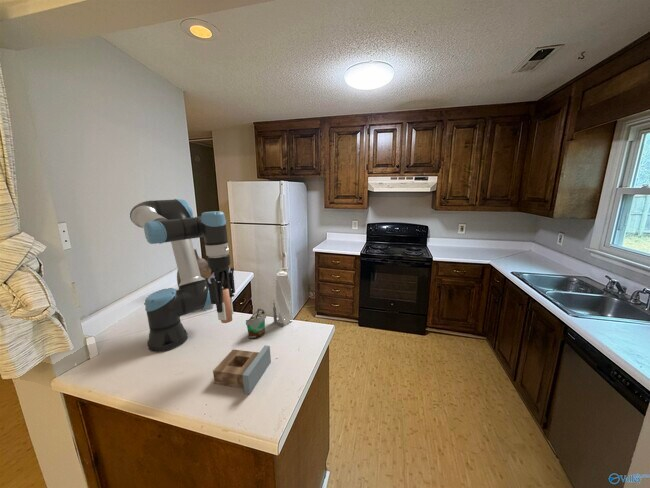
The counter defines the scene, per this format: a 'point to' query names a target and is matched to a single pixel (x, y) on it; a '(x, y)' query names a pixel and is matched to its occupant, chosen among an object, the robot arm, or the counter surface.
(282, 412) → the counter surface
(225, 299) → the dowel
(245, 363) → the block
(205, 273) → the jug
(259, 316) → the food container
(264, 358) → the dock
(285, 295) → the skyscraper
